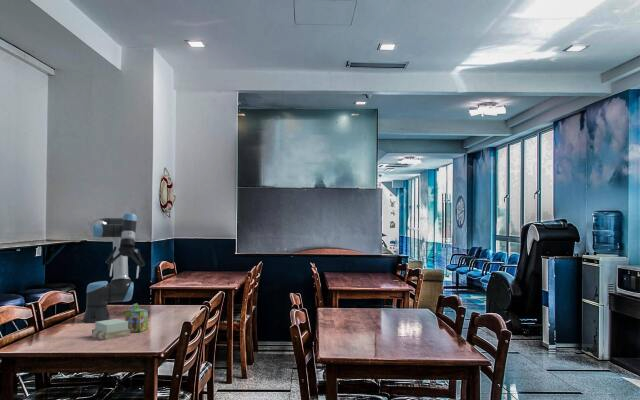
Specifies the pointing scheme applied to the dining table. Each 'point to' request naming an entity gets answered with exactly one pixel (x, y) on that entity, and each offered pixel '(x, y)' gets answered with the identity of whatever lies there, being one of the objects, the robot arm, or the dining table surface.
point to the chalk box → (137, 319)
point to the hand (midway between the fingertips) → (123, 276)
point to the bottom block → (111, 334)
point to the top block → (111, 325)
